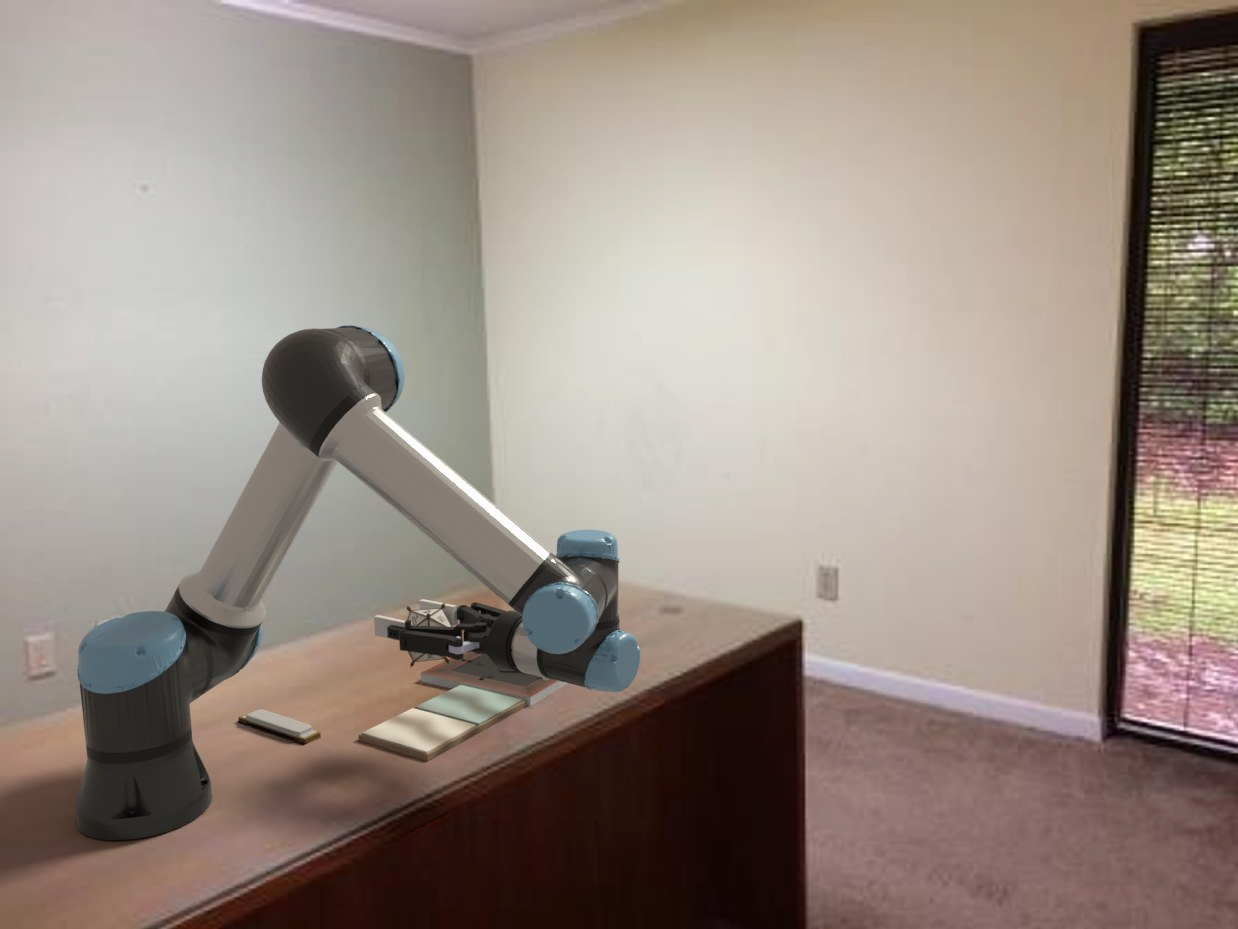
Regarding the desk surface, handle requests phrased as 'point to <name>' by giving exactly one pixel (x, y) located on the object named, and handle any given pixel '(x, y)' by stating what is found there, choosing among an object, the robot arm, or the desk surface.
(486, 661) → the picture frame
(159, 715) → the robot arm
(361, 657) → the desk surface
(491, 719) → the board
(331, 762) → the desk surface
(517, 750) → the desk surface
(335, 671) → the desk surface
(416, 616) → the game die
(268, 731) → the harmonica
